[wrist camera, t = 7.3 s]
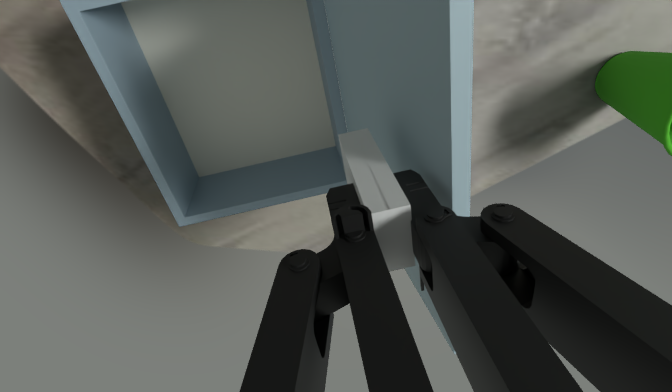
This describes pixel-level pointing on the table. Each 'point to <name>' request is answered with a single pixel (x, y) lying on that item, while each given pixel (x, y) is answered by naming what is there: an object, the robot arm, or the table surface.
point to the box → (222, 97)
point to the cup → (640, 91)
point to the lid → (411, 91)
